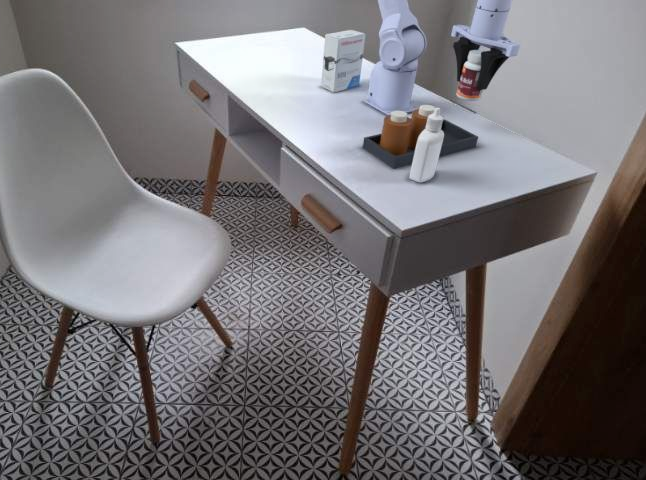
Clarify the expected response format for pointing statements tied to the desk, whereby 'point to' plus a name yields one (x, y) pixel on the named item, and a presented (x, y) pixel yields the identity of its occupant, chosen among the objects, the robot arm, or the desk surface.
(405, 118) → the amber bottle far
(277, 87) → the desk surface
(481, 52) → the robot arm
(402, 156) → the tray
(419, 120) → the amber bottle middle
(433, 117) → the eye dropper bottle
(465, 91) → the pill bottle
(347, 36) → the ink box
